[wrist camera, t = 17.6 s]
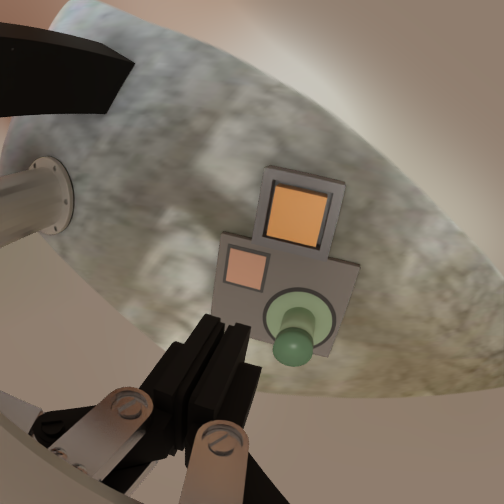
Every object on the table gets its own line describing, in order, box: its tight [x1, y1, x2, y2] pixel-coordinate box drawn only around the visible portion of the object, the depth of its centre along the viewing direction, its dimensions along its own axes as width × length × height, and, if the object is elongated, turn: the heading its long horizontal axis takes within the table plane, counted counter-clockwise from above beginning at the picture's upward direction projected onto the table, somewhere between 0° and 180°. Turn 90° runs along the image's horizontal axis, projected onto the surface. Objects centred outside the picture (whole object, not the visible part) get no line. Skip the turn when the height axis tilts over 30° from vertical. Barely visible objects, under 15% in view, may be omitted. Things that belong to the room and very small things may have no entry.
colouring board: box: [211, 231, 360, 357], centre depth 37 cm, size 16×13×1 cm
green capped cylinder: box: [273, 307, 316, 367], centre depth 34 cm, size 4×4×6 cm
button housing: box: [251, 165, 346, 262], centre depth 32 cm, size 8×8×3 cm
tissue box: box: [0, 22, 135, 117], centre depth 20 cm, size 8×8×28 cm
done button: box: [267, 183, 327, 247], centre depth 31 cm, size 5×5×2 cm
